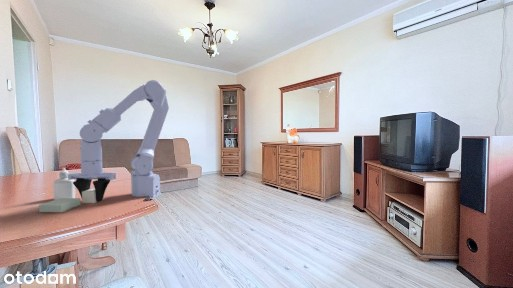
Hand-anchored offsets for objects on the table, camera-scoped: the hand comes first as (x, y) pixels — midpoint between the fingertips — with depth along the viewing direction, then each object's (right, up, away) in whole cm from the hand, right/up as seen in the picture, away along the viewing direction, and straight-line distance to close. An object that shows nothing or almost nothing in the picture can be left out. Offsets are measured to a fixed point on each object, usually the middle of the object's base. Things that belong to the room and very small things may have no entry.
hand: (92, 200), depth 72 cm
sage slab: (-4, 0, -7) cm, 8 cm away
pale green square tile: (-4, -2, -7) cm, 8 cm away
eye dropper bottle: (-12, -1, +3) cm, 12 cm away
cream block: (0, -2, 0) cm, 2 cm away
